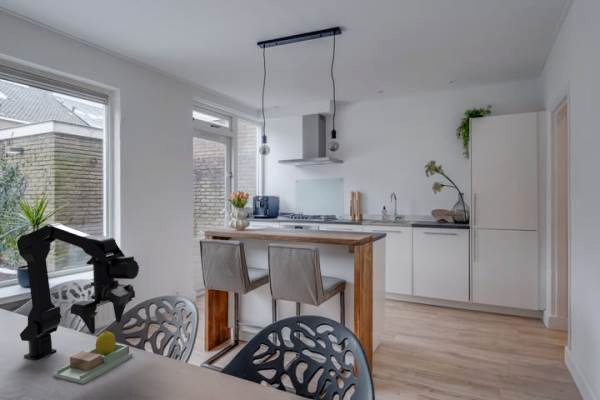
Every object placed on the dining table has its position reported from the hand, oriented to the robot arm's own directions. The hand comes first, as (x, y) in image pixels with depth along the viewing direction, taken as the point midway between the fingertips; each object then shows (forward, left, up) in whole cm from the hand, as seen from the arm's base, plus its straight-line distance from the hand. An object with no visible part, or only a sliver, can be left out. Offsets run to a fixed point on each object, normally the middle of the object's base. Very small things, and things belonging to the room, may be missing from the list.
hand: (106, 327), depth 111 cm
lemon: (0, 0, -9) cm, 9 cm away
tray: (0, -4, -10) cm, 11 cm away
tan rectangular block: (0, -7, -9) cm, 11 cm away
